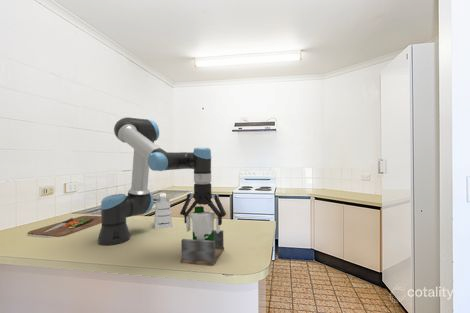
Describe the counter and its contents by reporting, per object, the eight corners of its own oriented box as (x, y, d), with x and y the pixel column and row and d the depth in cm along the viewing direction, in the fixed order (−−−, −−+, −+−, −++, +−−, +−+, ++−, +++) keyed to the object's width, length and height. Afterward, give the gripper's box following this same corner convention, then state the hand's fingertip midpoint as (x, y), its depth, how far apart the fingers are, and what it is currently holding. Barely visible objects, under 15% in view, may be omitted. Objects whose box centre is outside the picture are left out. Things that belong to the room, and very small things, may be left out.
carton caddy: (180, 262, 100) (180, 241, 100) (195, 247, 116) (195, 228, 116) (213, 265, 97) (213, 243, 97) (224, 249, 114) (223, 229, 113)
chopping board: (57, 239, 132) (57, 234, 132) (20, 236, 138) (20, 230, 138) (117, 218, 175) (116, 213, 175) (86, 216, 182) (86, 212, 182)
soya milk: (202, 248, 113) (201, 204, 113) (217, 251, 108) (217, 206, 108) (189, 254, 105) (188, 208, 105) (205, 259, 100) (204, 210, 100)
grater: (171, 222, 160) (170, 192, 159) (172, 227, 150) (172, 194, 150) (154, 224, 156) (153, 193, 156) (154, 229, 146) (154, 195, 146)
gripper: (172, 183, 105) (172, 232, 105) (228, 184, 100) (228, 236, 100) (179, 181, 112) (180, 227, 113) (232, 182, 107) (232, 230, 108)
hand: (203, 231), depth 107 cm, fingers open, 13 cm apart
